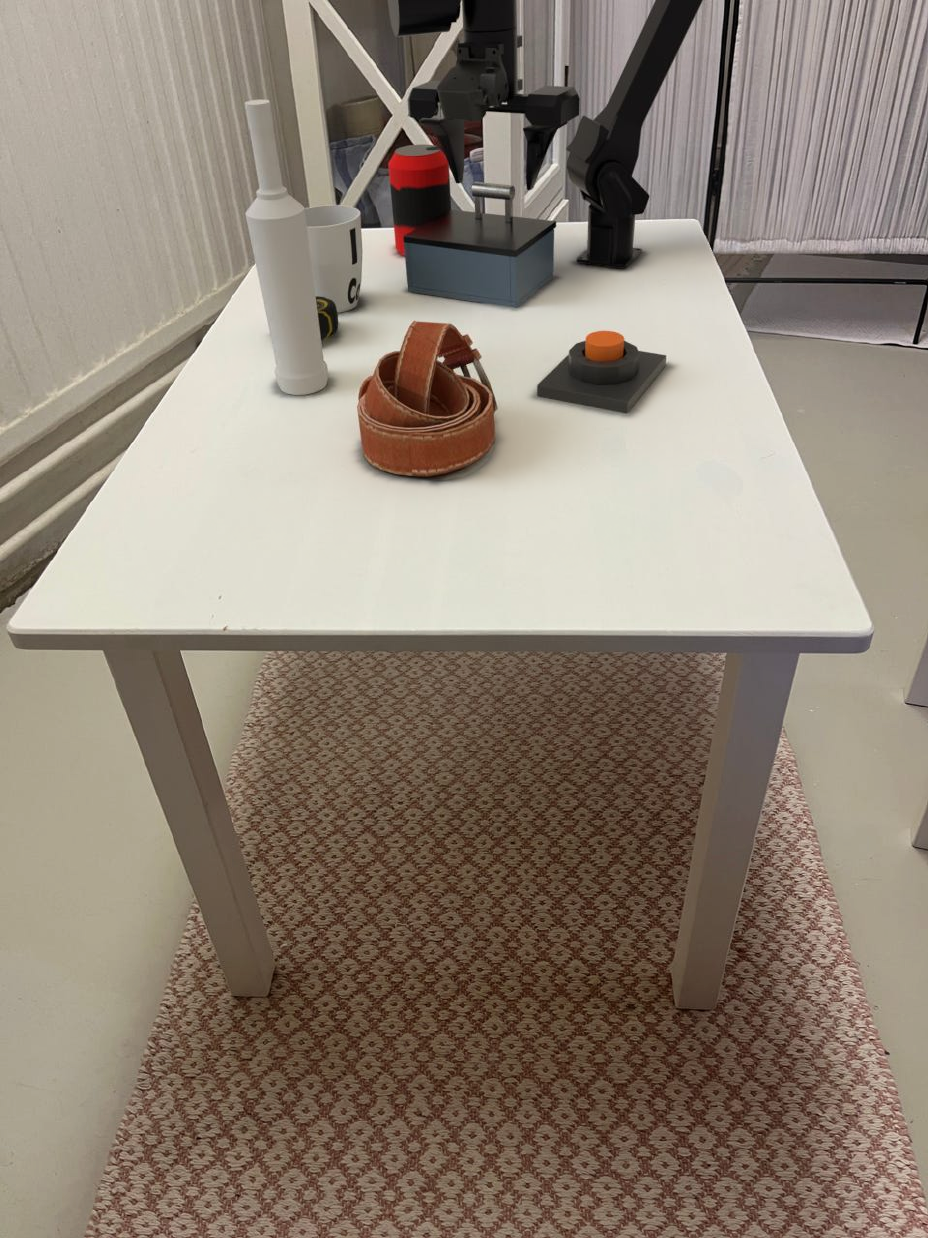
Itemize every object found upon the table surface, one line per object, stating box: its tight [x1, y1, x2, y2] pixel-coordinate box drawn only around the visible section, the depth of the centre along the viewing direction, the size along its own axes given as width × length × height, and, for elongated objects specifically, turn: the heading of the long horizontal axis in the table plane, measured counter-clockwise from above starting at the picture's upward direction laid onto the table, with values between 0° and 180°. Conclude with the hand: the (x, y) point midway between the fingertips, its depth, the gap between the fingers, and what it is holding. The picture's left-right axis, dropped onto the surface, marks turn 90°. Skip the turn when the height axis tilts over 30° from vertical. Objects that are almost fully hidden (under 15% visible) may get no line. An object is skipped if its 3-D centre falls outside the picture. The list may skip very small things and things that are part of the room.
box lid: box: [403, 181, 557, 257], centre depth 106 cm, size 11×14×5 cm
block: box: [536, 339, 667, 414], centre depth 89 cm, size 11×9×3 cm
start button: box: [585, 330, 625, 362], centre depth 88 cm, size 4×4×2 cm
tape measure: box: [316, 296, 340, 342], centre depth 100 cm, size 7×7×4 cm
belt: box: [356, 320, 499, 478], centre depth 79 cm, size 14×13×10 cm
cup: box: [304, 204, 363, 314], centre depth 105 cm, size 8×8×10 cm
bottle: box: [244, 99, 329, 396], centre depth 84 cm, size 5×5×25 cm
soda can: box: [387, 144, 452, 257], centre depth 119 cm, size 8×8×12 cm
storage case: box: [404, 228, 555, 309], centre depth 110 cm, size 10×14×6 cm
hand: (494, 185), depth 108 cm, fingers open, 9 cm apart
